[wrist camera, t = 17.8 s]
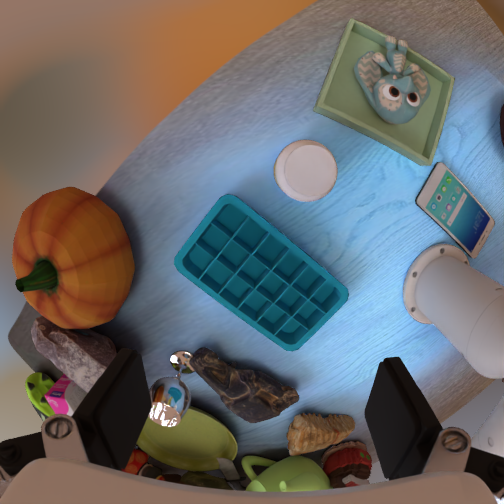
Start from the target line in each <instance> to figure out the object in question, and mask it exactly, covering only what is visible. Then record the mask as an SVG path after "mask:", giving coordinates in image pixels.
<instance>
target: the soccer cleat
mask: <svg viewBox="0 0 504 504" xmlns="http://www.w3.org/2000/svg"><path fill="white" fill-rule="evenodd" d="M54 384H55V383H54V382H53V381H52V379H51V378H50V377H48V376H47V375H46V374H44V373H33V374H31V375H30V376H29V377H28V378H27V380H26V382H25V387H26V392H27V395H28V397H29V399H30V400H31V403H32V405H33V407H34V408H35V410H36V411H37V413H38V414H39V416H40V417H41V418H42V420H43V422H44V421H45V420H46V419H47V418H48V417H50V416H52V415H55V412H54V411H53V409H52V408H51V406H50V404H49V403H48V401H47V400H46V398H45V396H44V395H45V394H46V393H47V392H48V391H49V390H50V389H51V387H52V386H53V385H54Z"/></svg>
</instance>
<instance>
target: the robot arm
mask: <svg viewBox="0 0 504 504" xmlns="http://www.w3.org/2000/svg"><path fill="white" fill-rule="evenodd" d="M403 301H404V305H405V308H406V310H407V311H408V313H409V314H410V315H411V316H412V317H413V319H415V320H416V321H418V322H420V323H423V324H434V325H435V326H436V327H437V328H438V330H439V331H440V332H441V333H442V334H443V335H444V336H445V337H446V338H447V339H448V340H449V341H450V342H451V343H452V345H453V346H454V347H455V348H456V349H457V350H458V351H459V352H460V353H461V354H462V356H463V357H464V358H465V359H466V360H467V361H468V362H469V363H470V365H471V366H472V367H473V368H474V369H475V370H476V371H477V372H478V373H479V374H481V375H482V376H485V377H487V378H494V379H497V378H504V286H503V285H501V284H499V283H498V282H496V281H494V280H493V279H491V278H489V277H488V276H486V275H484V274H482V273H481V272H479V271H477V270H476V269H474V268H472V267H470V264H469V261H468V259H467V257H466V255H465V254H464V253H463V251H461V250H460V249H459V248H457V247H455V246H453V245H450V244H437V245H434V246H432V247H429V248H428V249H426V250H425V251H423V252H422V253H421V254H420V255H419V256H418V257H417V258H416V259H415V261H414V262H413V263H412V265H411V266H410V268H409V270H408V272H407V275H406V278H405V280H404V285H403ZM151 408H152V402H151V398H150V393H149V389H148V385H147V381H146V376H145V371H144V367H143V362H142V357H141V355H140V354H138V353H137V351H136V350H133V349H127V348H122V349H121V350H120V351H119V352H118V354H117V355H116V356H115V358H114V359H113V360H112V362H111V363H110V364H109V366H108V367H107V368H106V370H105V371H104V373H103V374H102V375H101V376H100V377H99V378H98V379H97V381H96V382H95V384H94V385H93V386H92V388H91V389H90V391H89V392H88V393H87V395H86V396H85V398H84V399H83V400H82V402H81V403H80V405H79V406H78V407H77V409H76V410H75V412H74V413H73V415H72V416H69V415H67V414H55V415H52V416H50V417H48V418H47V419H46V420H45V421H44V422H43V424H42V426H41V432H38V433H34V434H30V435H26V436H21V437H17V438H13V439H8V440H5V441H2V442H1V443H0V504H504V395H503V397H502V399H501V400H500V401H499V403H498V404H497V405H496V407H495V408H494V410H493V411H492V413H491V414H490V415H489V416H488V418H487V419H486V420H485V422H484V423H483V424H482V426H481V427H480V428H479V429H478V431H477V432H476V433H475V435H474V436H473V437H472V439H471V438H470V436H469V435H468V433H467V432H465V431H464V430H463V429H460V428H457V427H448V428H445V429H443V428H442V426H441V424H440V423H439V421H438V419H437V417H436V416H435V414H434V412H433V410H432V409H431V407H430V405H429V404H428V402H427V400H426V399H425V397H424V395H423V394H422V392H421V390H420V389H419V388H418V386H417V385H416V383H415V381H414V380H413V378H412V376H411V375H410V373H409V372H408V370H407V368H406V367H405V365H404V364H403V362H402V360H401V359H400V358H399V357H390V358H385V359H384V361H383V362H380V364H379V367H378V370H377V374H376V377H375V380H374V383H373V387H372V390H371V393H370V396H369V399H368V402H367V405H366V408H365V419H366V422H367V425H368V428H369V431H370V434H371V437H372V440H373V443H374V446H375V449H376V452H377V455H378V458H379V461H380V464H381V468H382V471H383V474H384V477H385V478H386V479H387V478H389V481H385V482H379V483H373V484H366V485H360V486H353V487H345V488H337V489H327V490H314V491H293V492H257V491H237V490H224V489H214V488H205V487H197V486H190V485H183V484H177V483H172V482H166V481H161V480H156V479H152V478H147V477H143V476H138V475H134V474H130V473H126V472H122V471H121V469H125V468H126V466H127V464H128V461H129V459H130V457H131V454H132V452H133V450H134V447H135V445H136V443H137V441H138V438H139V436H140V434H141V431H142V429H143V427H144V425H145V422H146V420H147V418H148V416H149V413H150V411H151Z"/></svg>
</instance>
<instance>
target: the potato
mask: <svg viewBox="0 0 504 504" xmlns="http://www.w3.org/2000/svg"><path fill="white" fill-rule="evenodd" d="M500 131H501V138H502V143H503V146H504V104H503V106H502V109H501V115H500Z"/></svg>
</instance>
